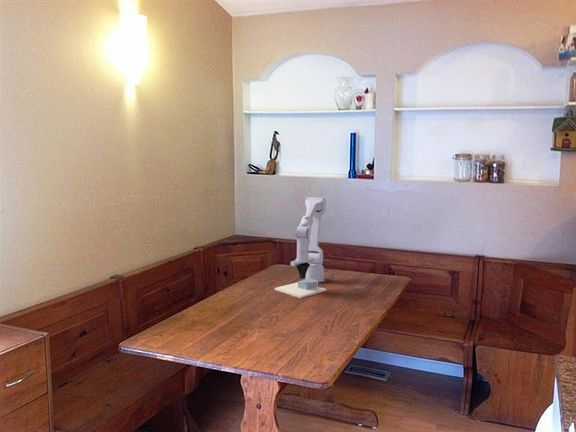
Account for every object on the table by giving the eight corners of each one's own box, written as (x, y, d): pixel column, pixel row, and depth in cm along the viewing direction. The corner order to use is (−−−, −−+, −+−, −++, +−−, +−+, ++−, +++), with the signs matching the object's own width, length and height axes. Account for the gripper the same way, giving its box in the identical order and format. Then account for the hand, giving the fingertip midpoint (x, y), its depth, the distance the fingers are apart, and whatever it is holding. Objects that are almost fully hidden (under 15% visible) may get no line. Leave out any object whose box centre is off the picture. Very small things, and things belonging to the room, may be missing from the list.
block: (297, 287, 261) (308, 284, 266) (306, 289, 256) (317, 286, 262) (297, 281, 260) (309, 278, 266) (306, 283, 256) (317, 280, 261)
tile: (300, 283, 271) (300, 281, 271) (326, 290, 259) (326, 288, 258) (274, 290, 259) (274, 288, 259) (300, 298, 246) (300, 296, 246)
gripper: (307, 247, 263) (306, 273, 265) (286, 251, 253) (286, 279, 255) (317, 249, 258) (317, 276, 260) (296, 253, 248) (296, 281, 250)
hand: (302, 278), depth 257 cm, fingers closed
